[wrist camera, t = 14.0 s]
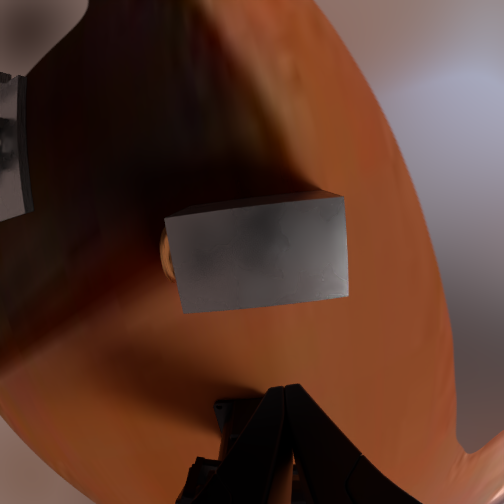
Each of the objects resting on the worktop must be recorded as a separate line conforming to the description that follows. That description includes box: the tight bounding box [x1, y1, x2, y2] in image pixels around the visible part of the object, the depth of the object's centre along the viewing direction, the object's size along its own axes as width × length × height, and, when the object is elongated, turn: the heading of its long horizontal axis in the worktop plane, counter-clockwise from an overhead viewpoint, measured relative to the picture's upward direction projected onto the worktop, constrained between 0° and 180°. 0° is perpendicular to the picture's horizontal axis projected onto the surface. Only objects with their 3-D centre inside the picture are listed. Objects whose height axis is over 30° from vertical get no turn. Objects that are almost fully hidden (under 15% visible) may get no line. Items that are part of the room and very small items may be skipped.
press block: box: [164, 190, 348, 314], centre depth 17 cm, size 5×8×5 cm, turn 97°
